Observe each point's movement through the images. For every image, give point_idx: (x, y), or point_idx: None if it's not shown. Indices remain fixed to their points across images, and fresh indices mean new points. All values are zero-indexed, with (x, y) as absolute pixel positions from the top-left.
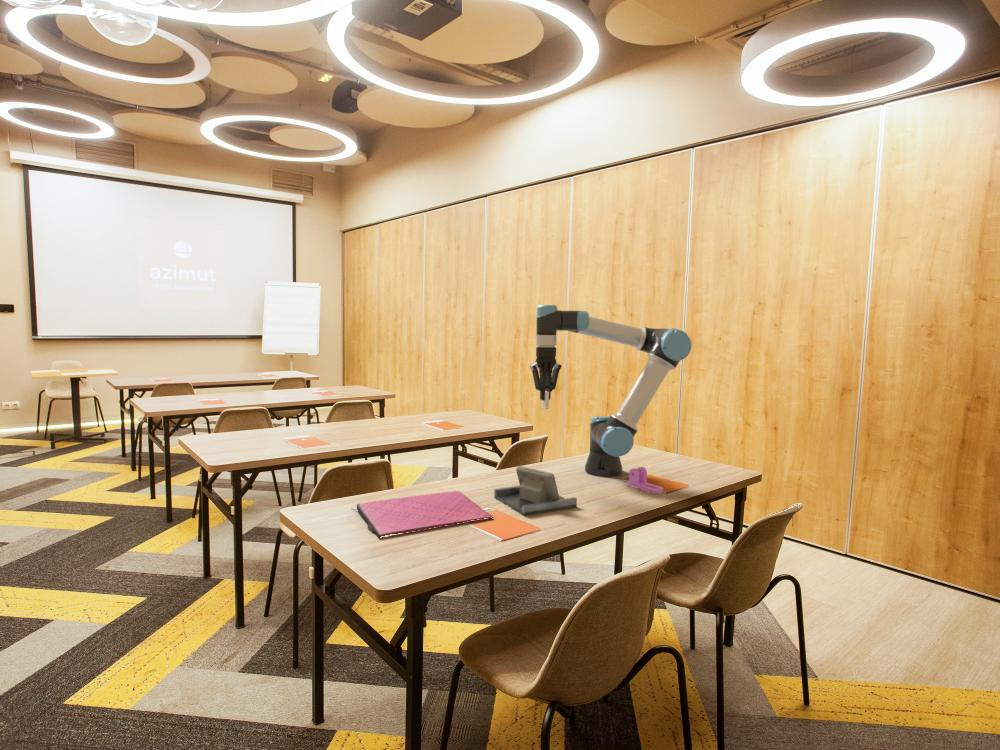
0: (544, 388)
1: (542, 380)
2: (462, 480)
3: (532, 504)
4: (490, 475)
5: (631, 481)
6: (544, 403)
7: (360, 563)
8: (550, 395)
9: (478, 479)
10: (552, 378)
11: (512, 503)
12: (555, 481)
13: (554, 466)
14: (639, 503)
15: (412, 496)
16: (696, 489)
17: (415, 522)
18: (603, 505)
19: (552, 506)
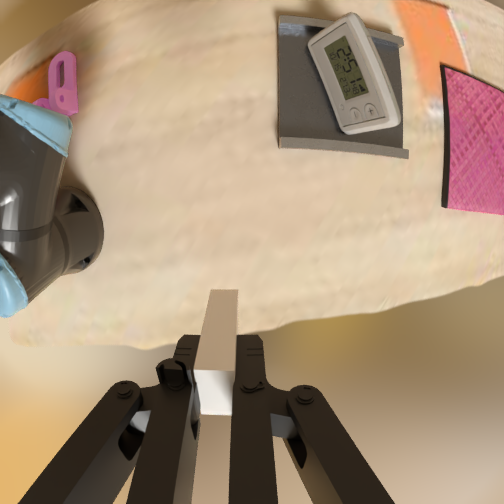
0: (247, 400)
1: (275, 482)
2: (389, 293)
3: (384, 36)
4: (323, 306)
5: (72, 104)
6: (237, 320)
7: None
8: (174, 355)
9: (361, 288)
10: (106, 489)
11: (396, 91)
12: (336, 21)
13: (148, 312)
14: (143, 6)
15: (501, 212)
16: (11, 68)
17: None
18: (216, 12)
19: None
